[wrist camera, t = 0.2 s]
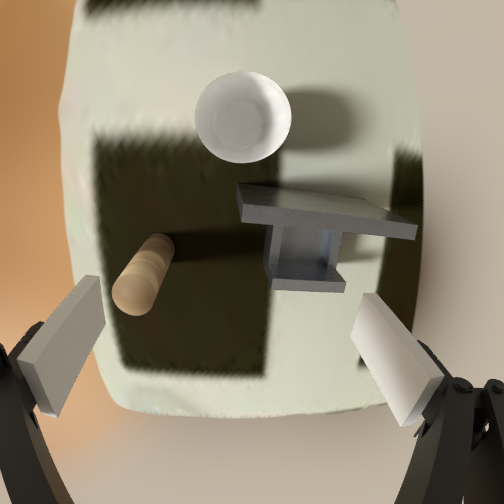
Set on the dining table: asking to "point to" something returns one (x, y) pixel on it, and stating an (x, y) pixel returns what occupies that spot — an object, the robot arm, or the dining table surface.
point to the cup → (242, 117)
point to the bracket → (311, 232)
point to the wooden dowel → (143, 275)
